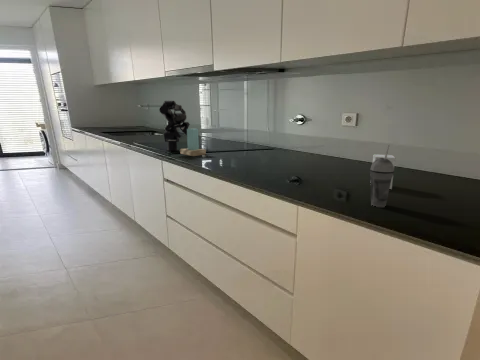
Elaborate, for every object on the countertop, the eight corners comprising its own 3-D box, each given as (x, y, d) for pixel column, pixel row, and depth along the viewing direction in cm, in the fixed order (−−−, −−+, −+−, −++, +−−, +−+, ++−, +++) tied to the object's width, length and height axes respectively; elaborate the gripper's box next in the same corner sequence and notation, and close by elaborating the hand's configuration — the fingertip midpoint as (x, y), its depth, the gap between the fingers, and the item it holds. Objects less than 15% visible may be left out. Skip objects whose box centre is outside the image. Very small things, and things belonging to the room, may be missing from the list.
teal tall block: (187, 149, 210) (186, 128, 207) (192, 148, 214) (192, 128, 211) (193, 150, 208) (193, 129, 205) (198, 149, 212) (198, 128, 209)
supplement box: (371, 188, 129) (374, 156, 126) (370, 184, 136) (373, 153, 133) (392, 190, 127) (395, 157, 124) (389, 185, 134) (393, 154, 131)
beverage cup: (365, 201, 113) (371, 142, 108) (388, 203, 111) (395, 143, 106) (367, 207, 106) (373, 145, 102) (391, 209, 104) (399, 146, 100)
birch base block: (180, 153, 214) (180, 148, 213) (193, 151, 220) (192, 147, 220) (192, 156, 204) (192, 151, 203) (205, 154, 210) (205, 149, 210)
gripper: (167, 109, 203) (182, 129, 201) (187, 109, 219) (200, 127, 216) (158, 122, 209) (172, 141, 206) (178, 121, 225) (191, 138, 222)
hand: (185, 136), depth 213 cm, fingers open, 9 cm apart
